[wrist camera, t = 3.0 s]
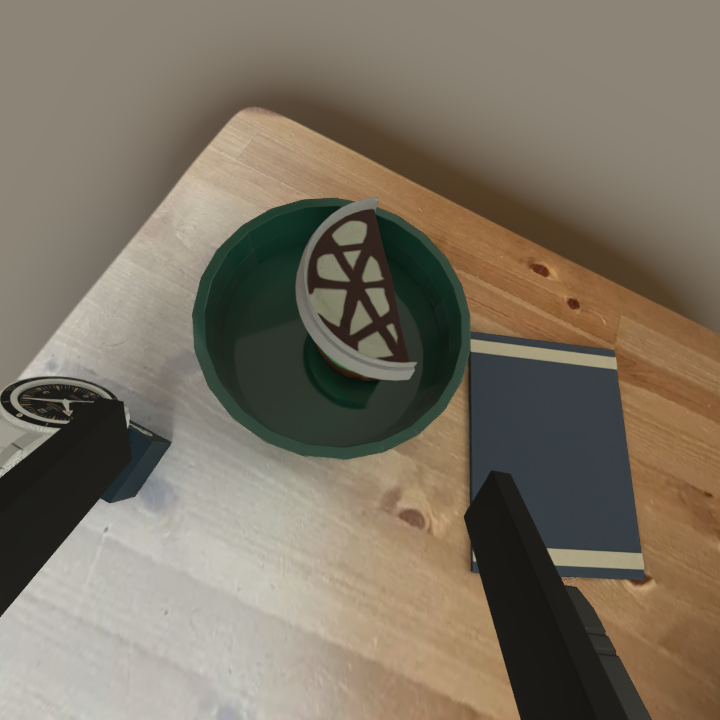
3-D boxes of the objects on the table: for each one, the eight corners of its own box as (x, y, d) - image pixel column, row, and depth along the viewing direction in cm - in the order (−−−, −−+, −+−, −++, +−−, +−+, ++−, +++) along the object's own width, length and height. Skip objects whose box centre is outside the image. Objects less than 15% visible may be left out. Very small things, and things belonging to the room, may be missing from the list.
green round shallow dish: (447, 253, 33) (469, 220, 28) (444, 466, 28) (472, 470, 23) (237, 220, 31) (223, 178, 26) (189, 445, 25) (160, 445, 21)
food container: (291, 276, 30) (280, 195, 20) (356, 269, 31) (376, 189, 21) (311, 410, 27) (310, 389, 18) (383, 398, 28) (419, 372, 19)
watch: (187, 419, 26) (101, 399, 15) (118, 520, 24) (-39, 577, 13) (124, 385, 26) (-4, 342, 15) (49, 482, 24) (-163, 510, 13)
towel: (610, 351, 33) (614, 349, 33) (640, 578, 28) (646, 580, 27) (468, 332, 31) (470, 331, 31) (470, 571, 26) (473, 573, 25)
